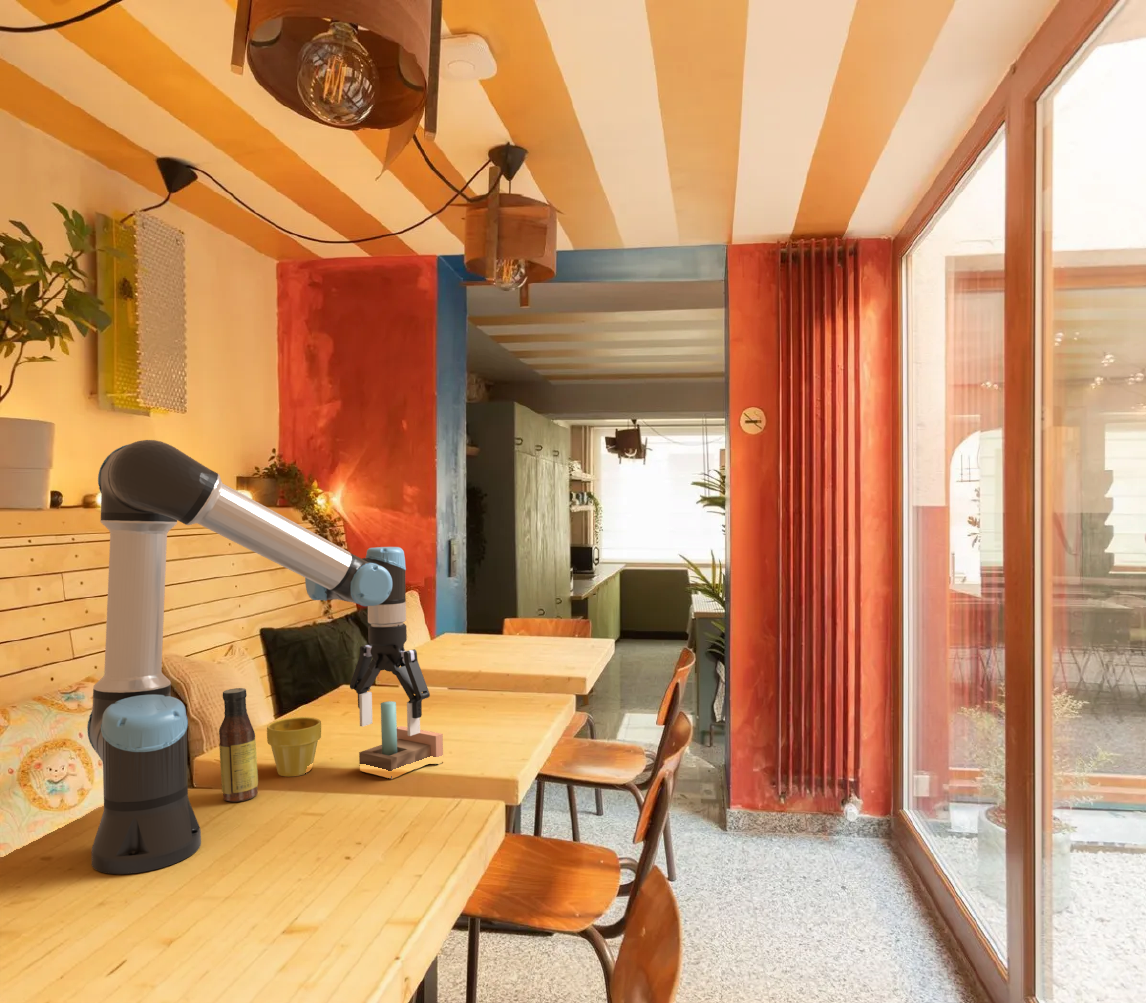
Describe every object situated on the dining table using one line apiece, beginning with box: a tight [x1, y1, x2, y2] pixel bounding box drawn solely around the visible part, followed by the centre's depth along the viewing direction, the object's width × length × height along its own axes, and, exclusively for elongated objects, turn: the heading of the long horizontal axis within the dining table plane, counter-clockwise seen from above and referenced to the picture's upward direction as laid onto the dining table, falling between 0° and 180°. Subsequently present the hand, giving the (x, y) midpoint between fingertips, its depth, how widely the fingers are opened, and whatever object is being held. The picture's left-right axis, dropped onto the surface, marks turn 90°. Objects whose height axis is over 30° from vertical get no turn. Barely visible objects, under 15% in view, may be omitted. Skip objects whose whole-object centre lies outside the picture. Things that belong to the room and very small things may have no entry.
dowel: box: [380, 700, 398, 756], centre depth 168 cm, size 3×3×12 cm
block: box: [358, 739, 431, 780], centre depth 169 cm, size 11×9×4 cm
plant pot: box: [266, 716, 322, 778], centre depth 168 cm, size 10×10×10 cm
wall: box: [397, 725, 444, 757], centre depth 174 cm, size 2×12×6 cm, turn 56°
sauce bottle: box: [218, 687, 259, 803], centre depth 154 cm, size 6×6×20 cm
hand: (389, 729), depth 167 cm, fingers open, 13 cm apart
